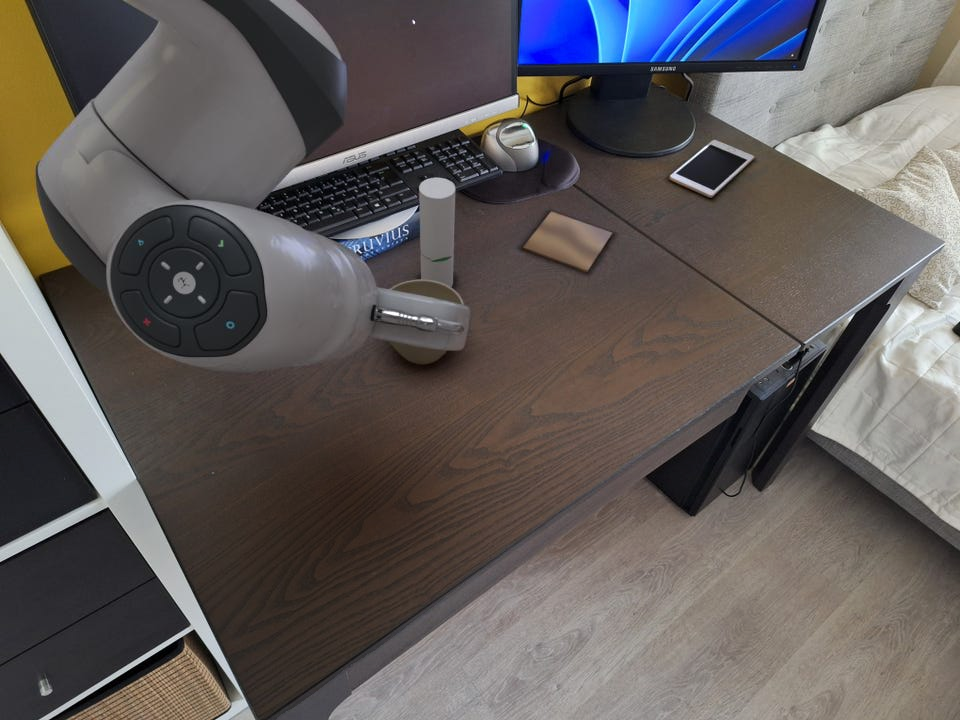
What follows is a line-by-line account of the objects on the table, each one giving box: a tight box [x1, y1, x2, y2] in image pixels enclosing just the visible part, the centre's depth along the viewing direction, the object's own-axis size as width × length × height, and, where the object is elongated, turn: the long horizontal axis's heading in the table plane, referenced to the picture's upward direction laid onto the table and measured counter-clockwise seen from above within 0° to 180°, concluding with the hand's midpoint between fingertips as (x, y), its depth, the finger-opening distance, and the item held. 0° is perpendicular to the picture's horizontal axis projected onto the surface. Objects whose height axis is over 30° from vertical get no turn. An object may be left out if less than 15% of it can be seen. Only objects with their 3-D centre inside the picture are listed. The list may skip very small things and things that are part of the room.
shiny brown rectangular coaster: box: [522, 211, 613, 274], centre depth 98 cm, size 10×10×1 cm
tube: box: [418, 177, 456, 288], centre depth 85 cm, size 4×4×15 cm
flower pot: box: [388, 278, 465, 365], centre depth 80 cm, size 10×10×7 cm
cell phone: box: [669, 139, 755, 199], centre depth 112 cm, size 8×16×1 cm, turn 140°
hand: (365, 308), depth 59 cm, fingers closed
